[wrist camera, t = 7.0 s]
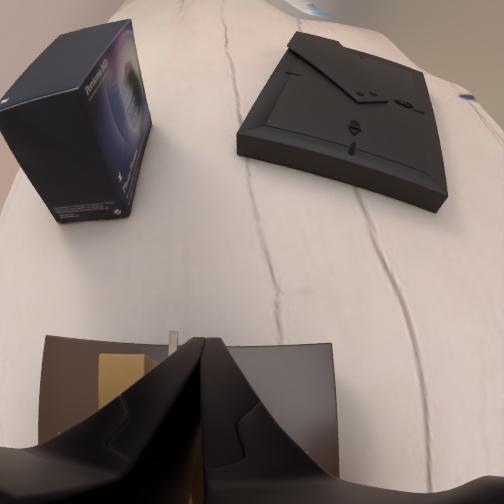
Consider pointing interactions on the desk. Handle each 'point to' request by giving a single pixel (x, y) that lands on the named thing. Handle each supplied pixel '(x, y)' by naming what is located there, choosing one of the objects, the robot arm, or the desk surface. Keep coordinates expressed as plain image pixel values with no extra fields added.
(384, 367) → the desk surface
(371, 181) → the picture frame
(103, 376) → the yellow rectangular slab
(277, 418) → the plate
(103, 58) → the small box
